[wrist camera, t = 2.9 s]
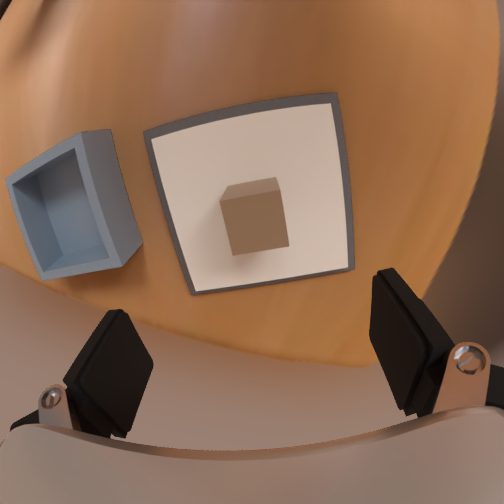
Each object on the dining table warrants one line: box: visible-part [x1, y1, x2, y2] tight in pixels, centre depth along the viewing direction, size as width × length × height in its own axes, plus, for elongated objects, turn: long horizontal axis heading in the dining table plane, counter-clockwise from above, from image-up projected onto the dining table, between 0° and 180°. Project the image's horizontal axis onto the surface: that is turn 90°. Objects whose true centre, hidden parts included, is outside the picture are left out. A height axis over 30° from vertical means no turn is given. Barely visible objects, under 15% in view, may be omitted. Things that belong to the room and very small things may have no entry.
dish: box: [5, 129, 143, 281], centre depth 22 cm, size 12×12×5 cm
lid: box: [151, 103, 348, 291], centre depth 21 cm, size 15×15×6 cm
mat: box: [143, 93, 355, 295], centre depth 24 cm, size 17×17×1 cm
